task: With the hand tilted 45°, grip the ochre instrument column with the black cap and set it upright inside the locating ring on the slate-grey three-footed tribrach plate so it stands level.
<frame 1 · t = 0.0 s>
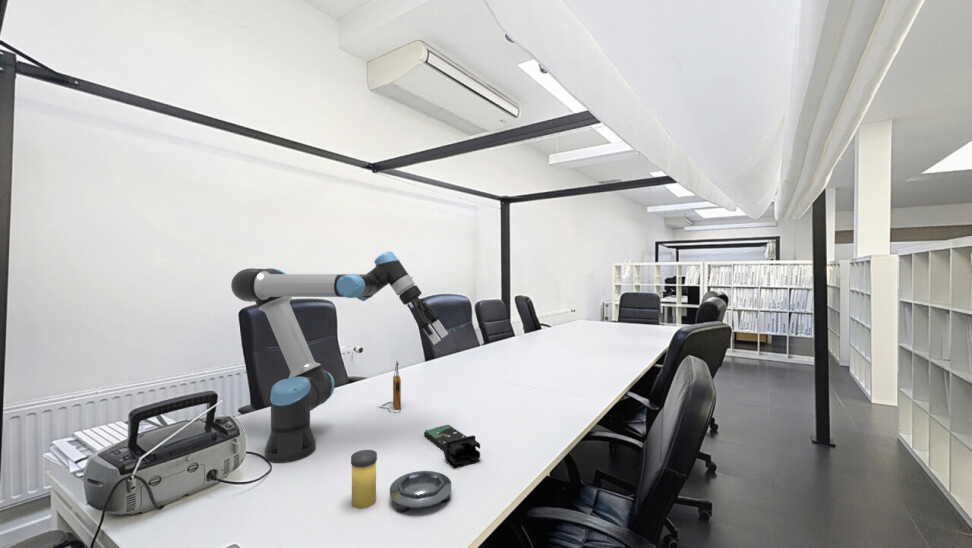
hand: (441, 339, 139), 36 cm above the table, tool tilted 35°, fingers open, 13 cm apart
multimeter: (388, 408, 173), on the table
end cap: (462, 461, 124), on the table
disk drive: (445, 441, 140), on the table
instrument: (364, 501, 102), on the table
tribrach: (420, 497, 104), on the table
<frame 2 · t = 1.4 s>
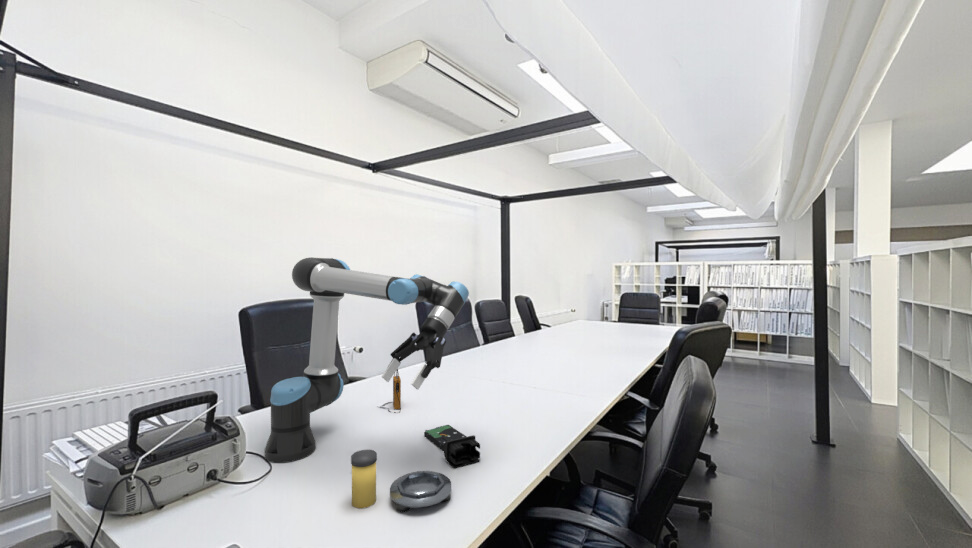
hand: (399, 383, 111), 28 cm above the table, tool tilted 45°, fingers open, 13 cm apart
nothing on the table moved.
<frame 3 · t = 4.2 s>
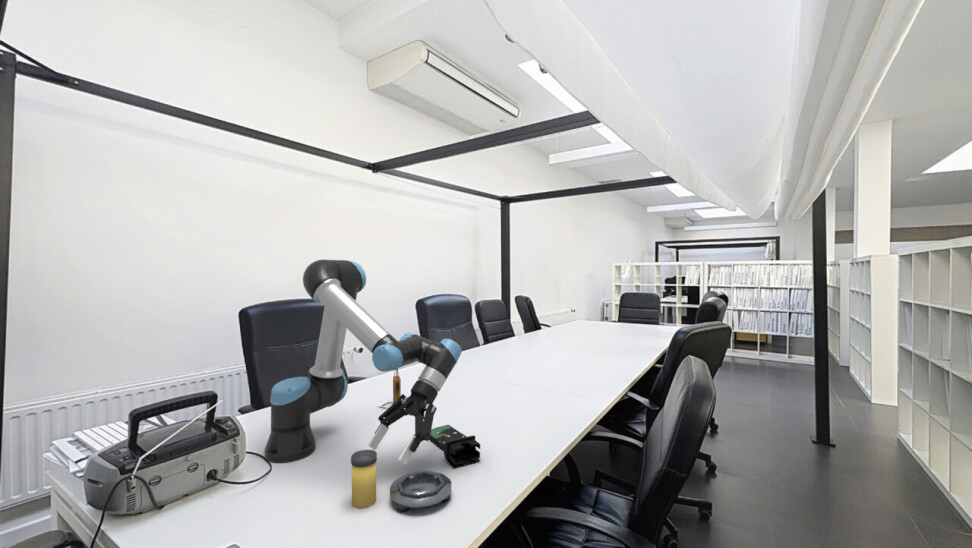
hand: (386, 454, 105), 10 cm above the table, tool tilted 45°, fingers open, 13 cm apart
nothing on the table moved.
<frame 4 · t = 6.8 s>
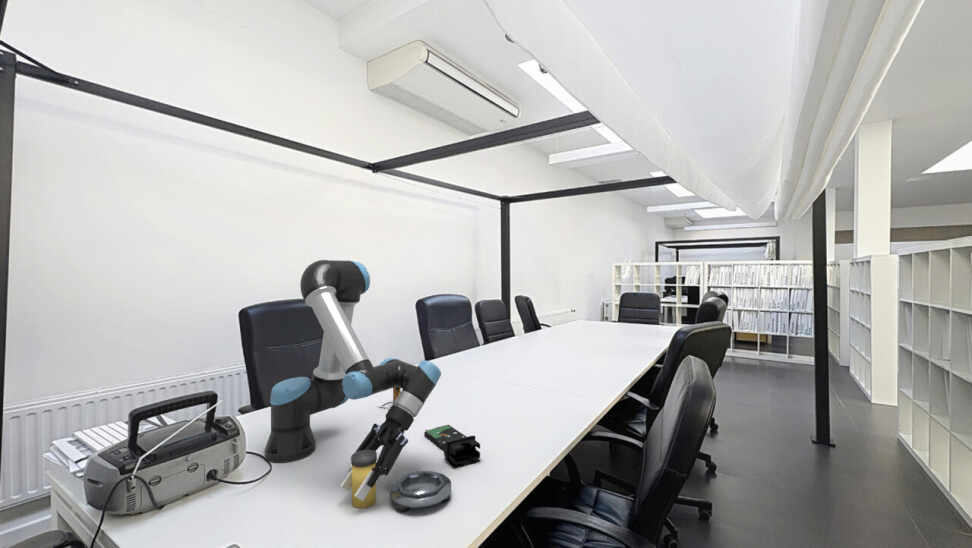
hand: (351, 493, 99), 4 cm above the table, tool tilted 45°, fingers closed on instrument, 6 cm apart
instrument: (364, 501, 102), on the table, touching gripper
everything else where it was.
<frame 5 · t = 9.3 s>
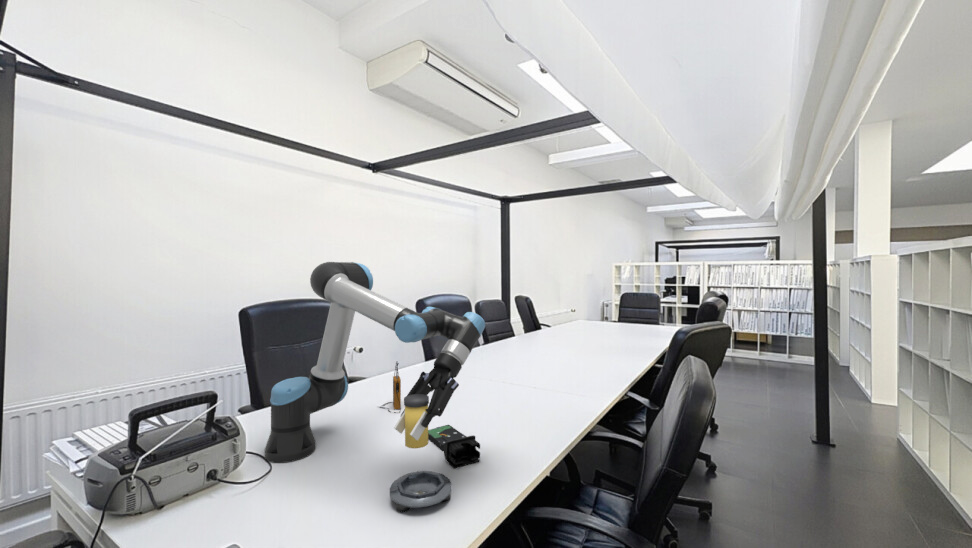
hand: (405, 433, 101), 18 cm above the table, tool tilted 45°, fingers closed on instrument, 6 cm apart
instrument: (416, 443, 103), point 14 cm above the table, touching gripper
everything else where it was.
when the fingers open (8 cm above the table, at t = 11.9 s): instrument drops 1 cm, resting on tribrach.
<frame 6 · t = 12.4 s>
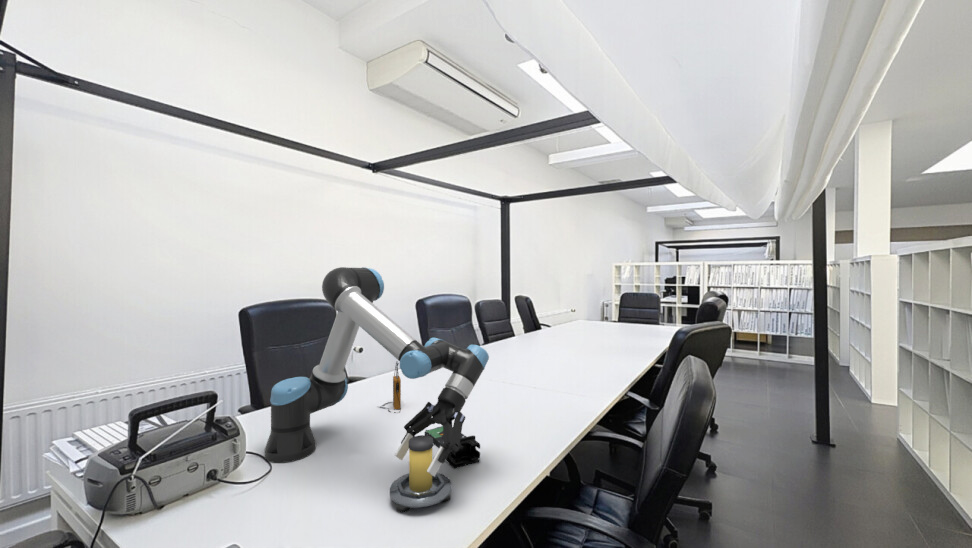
hand: (413, 465, 102), 9 cm above the table, tool tilted 45°, fingers open, 12 cm apart
instrument: (420, 485, 104), point 3 cm above the table, touching tribrach
everything else where it was.
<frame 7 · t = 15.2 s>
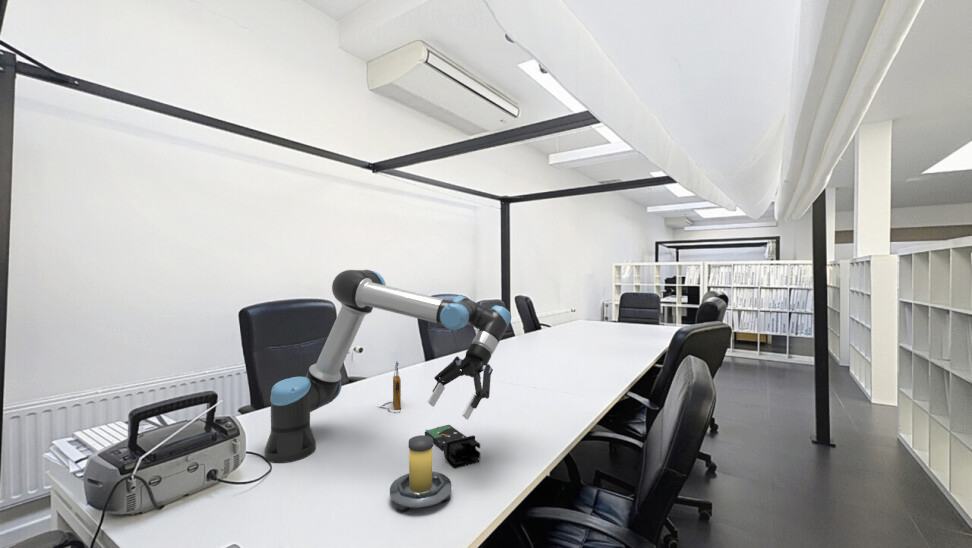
hand: (447, 410, 113), 20 cm above the table, tool tilted 45°, fingers open, 13 cm apart
nothing on the table moved.
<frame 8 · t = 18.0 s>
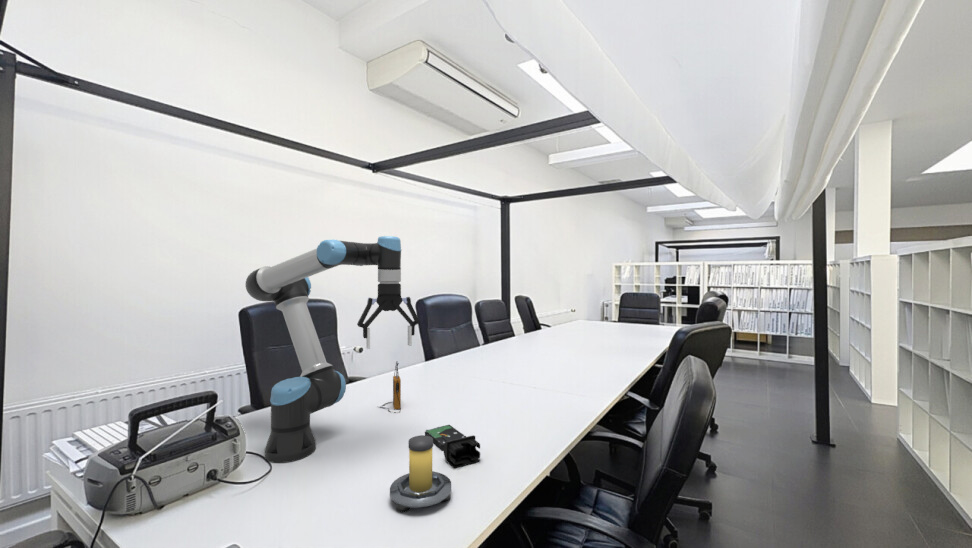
hand: (389, 346, 131), 35 cm above the table, tool pointing down, fingers open, 13 cm apart
nothing on the table moved.
at the end: instrument 0.1 cm off-centre on the tribrach, point 3.0 cm above the tribrach's base; instrument tilted 0°; the gripper is holding nothing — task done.
